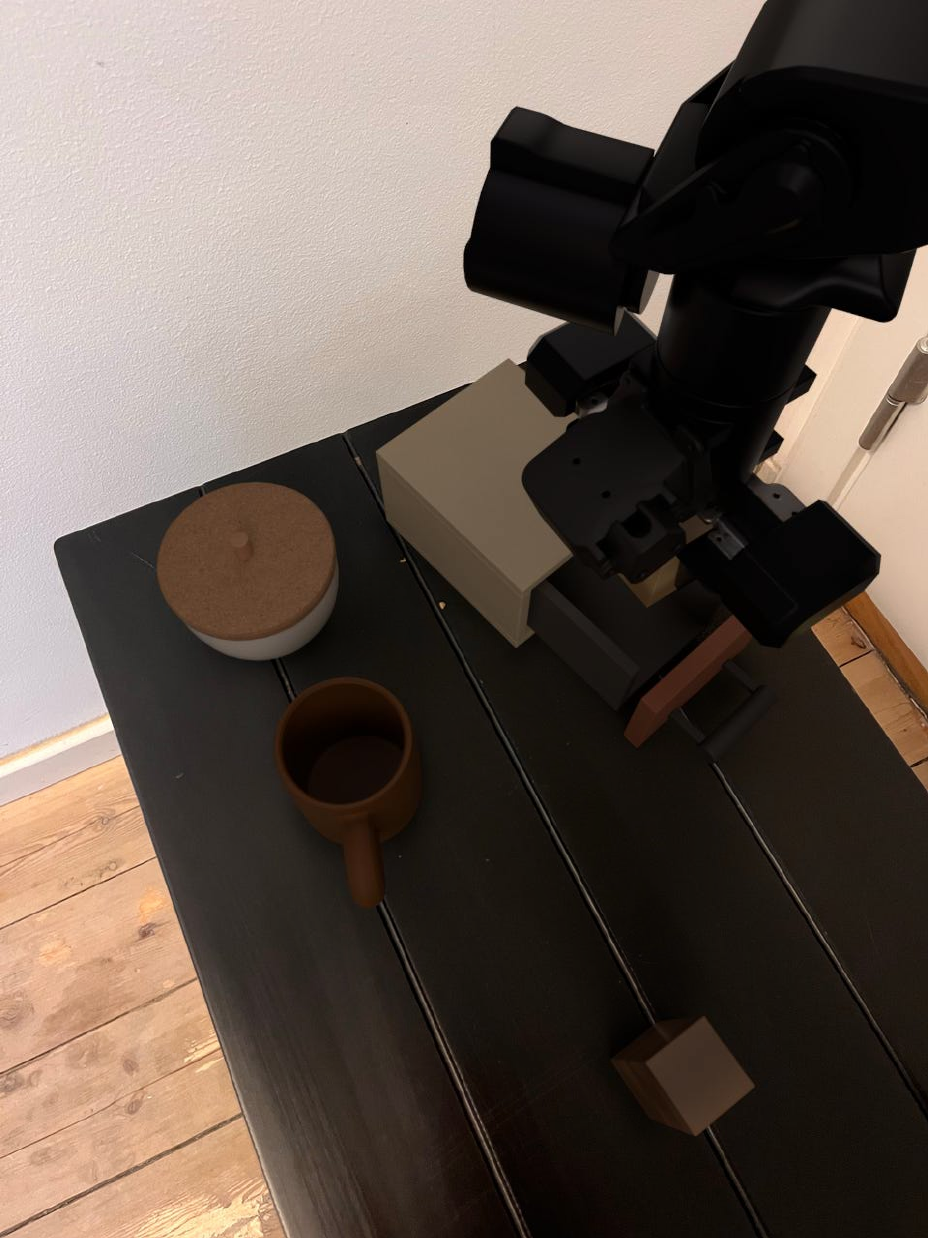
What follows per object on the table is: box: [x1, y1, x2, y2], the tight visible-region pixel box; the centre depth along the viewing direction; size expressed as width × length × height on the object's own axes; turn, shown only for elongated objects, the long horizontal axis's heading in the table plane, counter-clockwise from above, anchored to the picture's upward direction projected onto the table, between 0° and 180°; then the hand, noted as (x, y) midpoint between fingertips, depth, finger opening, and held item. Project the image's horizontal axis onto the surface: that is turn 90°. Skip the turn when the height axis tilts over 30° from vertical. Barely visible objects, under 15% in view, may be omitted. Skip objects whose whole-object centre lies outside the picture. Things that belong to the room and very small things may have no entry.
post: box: [610, 1014, 756, 1137], centre depth 42 cm, size 3×3×10 cm
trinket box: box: [156, 481, 340, 661], centre depth 55 cm, size 11×11×9 cm
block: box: [617, 515, 713, 607], centre depth 47 cm, size 4×4×4 cm
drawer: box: [527, 556, 780, 765], centre depth 54 cm, size 16×10×6 cm, turn 42°
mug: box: [273, 676, 423, 909], centre depth 49 cm, size 12×8×9 cm, turn 11°
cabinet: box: [375, 357, 579, 649], centre depth 58 cm, size 14×12×8 cm
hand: (655, 552), depth 48 cm, fingers closed on block, 4 cm apart
